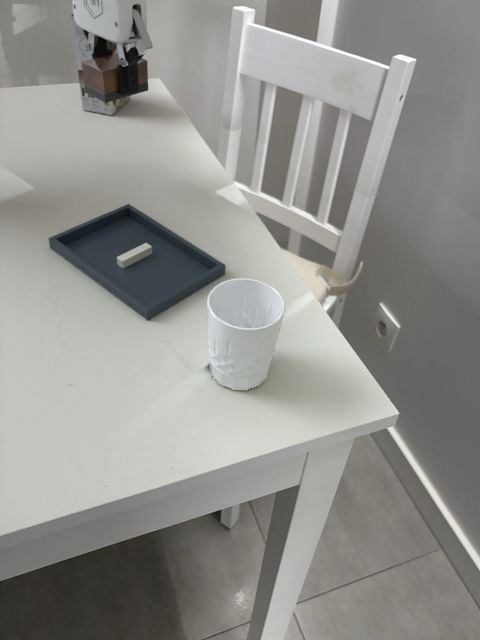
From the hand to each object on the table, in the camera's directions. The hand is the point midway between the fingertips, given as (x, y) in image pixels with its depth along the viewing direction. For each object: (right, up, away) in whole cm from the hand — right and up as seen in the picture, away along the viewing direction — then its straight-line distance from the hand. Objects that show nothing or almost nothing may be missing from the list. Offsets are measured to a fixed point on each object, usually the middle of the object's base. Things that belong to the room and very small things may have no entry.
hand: (116, 85), depth 79 cm
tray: (+4, -27, -6) cm, 28 cm away
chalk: (+4, -26, -6) cm, 27 cm away
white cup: (+18, -41, -17) cm, 47 cm away
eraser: (0, -1, +1) cm, 1 cm away
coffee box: (-9, +10, +28) cm, 31 cm away
